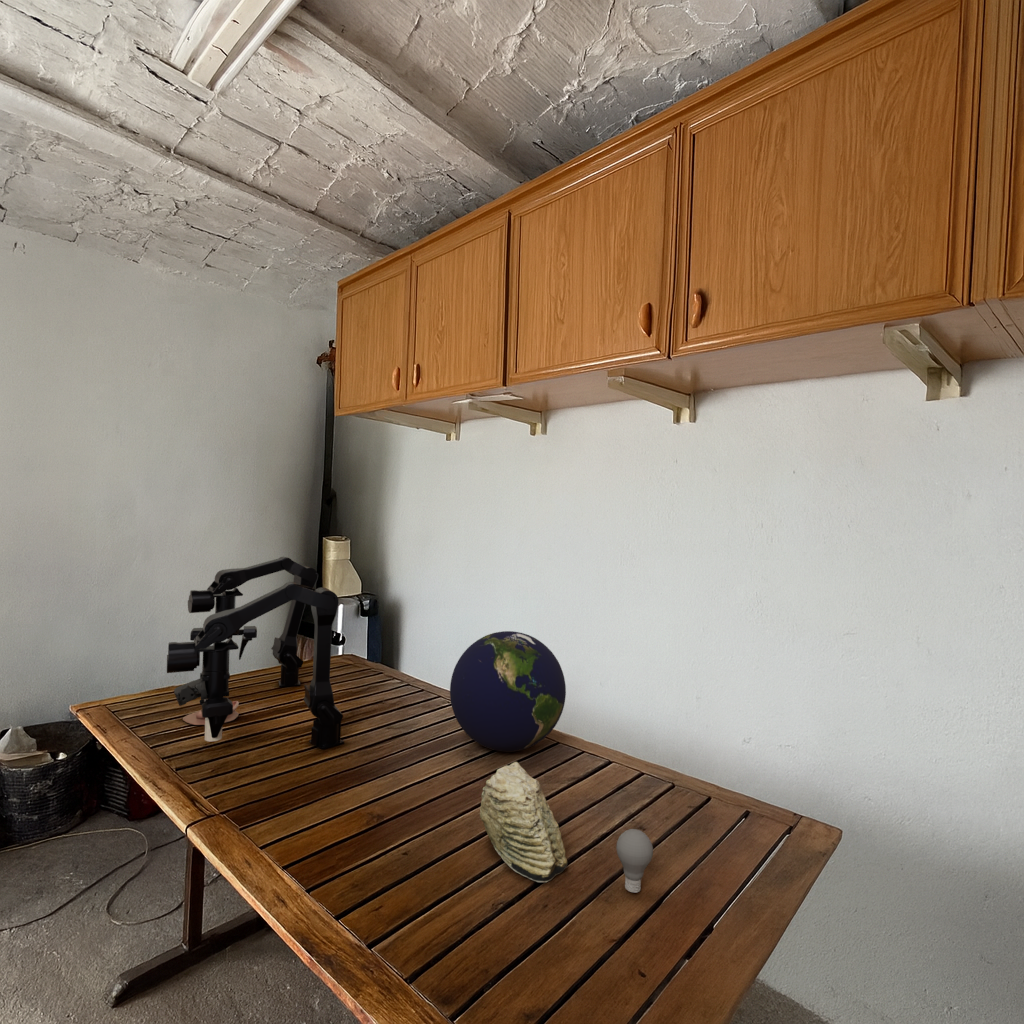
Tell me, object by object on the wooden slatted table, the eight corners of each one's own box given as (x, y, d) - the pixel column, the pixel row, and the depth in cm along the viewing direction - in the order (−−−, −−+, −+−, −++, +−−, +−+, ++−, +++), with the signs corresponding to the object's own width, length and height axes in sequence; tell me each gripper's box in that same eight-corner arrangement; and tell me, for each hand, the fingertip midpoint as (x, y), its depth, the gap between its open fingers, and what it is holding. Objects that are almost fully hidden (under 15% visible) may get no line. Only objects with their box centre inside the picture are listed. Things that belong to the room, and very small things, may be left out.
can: (201, 741, 147) (202, 720, 147) (208, 735, 151) (208, 714, 151) (218, 741, 148) (219, 720, 148) (224, 735, 151) (225, 715, 151)
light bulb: (610, 879, 108) (613, 822, 108) (644, 879, 109) (647, 822, 109) (619, 902, 102) (622, 840, 102) (655, 901, 103) (658, 840, 103)
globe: (494, 719, 185) (499, 617, 185) (584, 745, 168) (589, 633, 167) (423, 749, 161) (428, 631, 160) (519, 784, 143) (525, 652, 143)
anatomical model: (175, 707, 171) (204, 695, 183) (174, 722, 172) (203, 709, 183) (218, 713, 169) (245, 700, 180) (218, 728, 169) (244, 714, 180)
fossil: (501, 827, 124) (504, 751, 124) (575, 868, 111) (578, 784, 111) (467, 843, 118) (470, 763, 118) (541, 889, 105) (545, 799, 105)
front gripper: (176, 662, 153) (174, 726, 154) (178, 683, 137) (176, 754, 137) (226, 658, 159) (224, 719, 159) (234, 677, 142) (231, 746, 143)
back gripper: (189, 616, 186) (187, 669, 186) (257, 614, 193) (256, 665, 194) (192, 609, 196) (190, 659, 197) (257, 608, 204) (255, 656, 204)
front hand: (213, 734), depth 149 cm, fingers closed on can, 4 cm apart
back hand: (223, 660), depth 197 cm, fingers open, 9 cm apart
